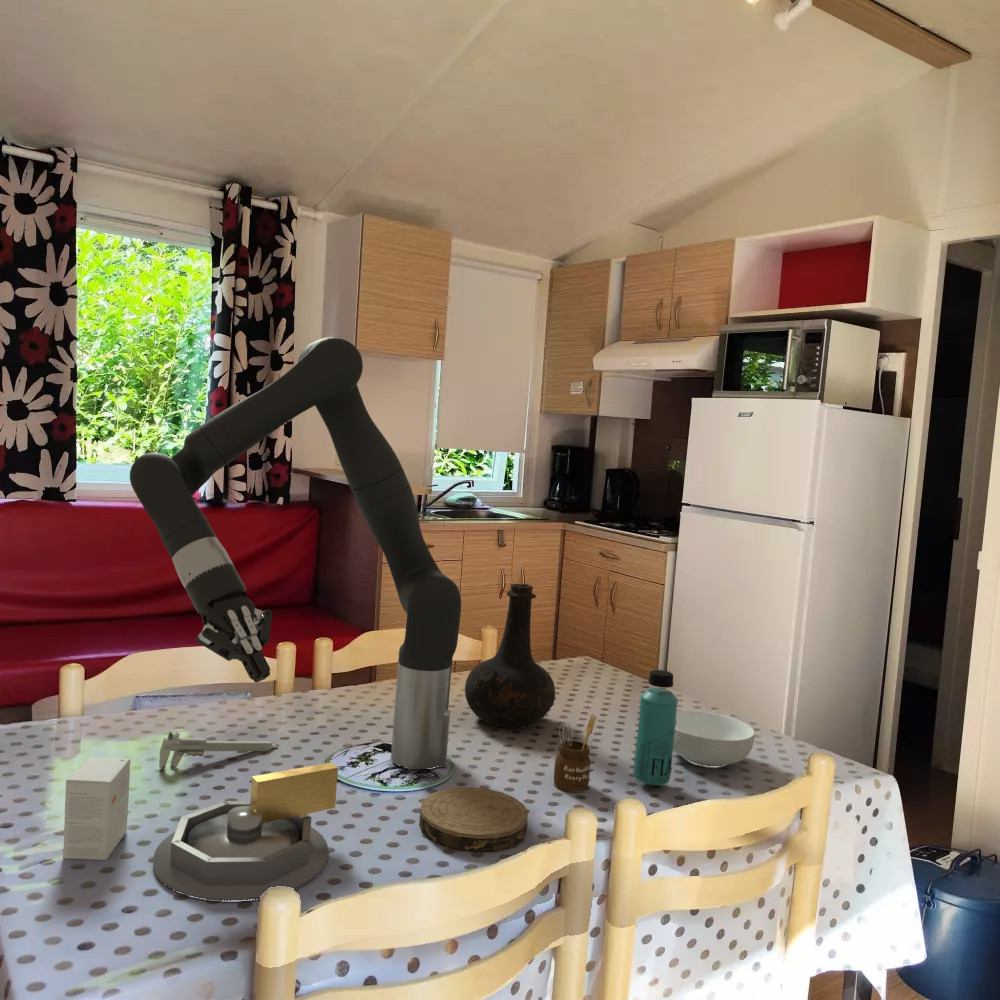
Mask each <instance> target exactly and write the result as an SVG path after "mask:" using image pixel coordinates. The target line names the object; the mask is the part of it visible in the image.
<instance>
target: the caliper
mask: <svg viewBox="0 0 1000 1000" xmlns="http://www.w3.org/2000/svg"><path fill="white" fill-rule="evenodd" d="M180 735H181V734H180V733H179V732H178V731H175V733H173V732H172V731H169V732H168V736H167V738H163V740H162V743H161V746H160V749H159V764H158V765H159V768H160V770H161V771H165V770H166V766H167V763H168V761H169V758H170V753H171V751H172V752H173V754H172V757H171V761H170V766H169V767H170V768H171V770H173V769H175V770H176V769H177V767H178V765H179V763H180V762H181V760H182V758H183V756H184V754H187V755H190V756H192V757H194V756H195V757H197V756H199V757H203V756H204V753H205V752H266V751H270V750H272V749H278V748H279V746H278V745H276V744H275V743H274V744H273V742H271V741H269V740H267V741H264V740H257V741H256V740H207V739H206V738H204V737H202V738H201V737H200V738H199V737H196V738H195V737H180Z"/></svg>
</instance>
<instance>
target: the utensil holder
mask: <svg viewBox="0 0 1000 1000" xmlns="http://www.w3.org/2000/svg"><path fill="white" fill-rule="evenodd" d="M596 719H597V716H596V715H594V714H593V713H591V715H590V717H589V720H588V723H587V727H586V729H585V732H586V735H585V738H584V741H580V740H574V738H573V737H571V739H566V740H565V736H564V735H565V732H564V729H565V726H564V725H566V726H567V732H570V731H569V727H568V726H570V728H571V729H573V727H572V724H571V723H570V722H567V721H563V722H560V725H559V726H558V734H559V737H561V732H560V729H561V726H562V736H563V739H564V740H562V739H561V738H559V740H560V743H559V745H558V747H557V748H558V750H557V751H558V752H557V754H556V756H555V761H554V767H553V768H554V770H553V784H554V787H555V786H556V788H557V789H558V790H559V789H560V790H562V791H564V792H568V793H569V792H570V793H580V792H584V791H585V790H586V789H587V788H588V787H589V782H590V776H591V775H590V773H591V759H590V756H589V755H590V752H591V750H590V746H589V745H588V743H587V742H588V739H589V736H590V735H592V734H593V731H594V726H595V723H596ZM573 734H574V733H573V731H571V736H574V735H573Z"/></svg>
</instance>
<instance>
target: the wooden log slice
mask: <svg viewBox="0 0 1000 1000" xmlns="http://www.w3.org/2000/svg"><path fill="white" fill-rule="evenodd" d="M419 811H420V812H419V822H418V826H419V829H420V832H421V834H423V836H425V838H426V839H428V841H430V842H432V843H434V844H436V845H438V846H440V847H442V848H444V849H445V848H446V849H448V850H453V851H456V852H460V853H469V854H495V853H500V852H504V851H507V850H508V851H509V850H510V849H511V850H512V849H513V848H515V847H516V846H519V845H520V844H522V842H523V841H524V840H525V839H526V838H527V827H528V819H529V818H528V817H529V811H528V809H527V808H526V806H525V805H524V803H522V802H521V801H520V800H518V799H517V798H515V797H513V796H512V795H508V794H507V793H504V792H502V791H499V790H493V789H490V788H484V787H483V788H482V787H475V786H465V787H459V786H457V787H451V788H450V787H449V788H444V789H440V790H438V791H435V792H432V793H430V794H429V795H428V796H426V798H424V799H422V801H421V805H420V809H419Z"/></svg>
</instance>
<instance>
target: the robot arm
mask: <svg viewBox="0 0 1000 1000" xmlns="http://www.w3.org/2000/svg"><path fill="white" fill-rule="evenodd" d="M363 363H364V362H363V357H362V354H361V352H360V351H359V349H358V348H357V346H356V345H354V344H353V343H352V342H350V341H349V340H347V339H344V338H342V337H335V336H328V337H323V338H320V339H318V340H315V341H313V342H310V343H309V344H307V345H306V346H305V347H304V348H303V349H302V350H301V353H300V355H299V357H298V360H297V362H296V364H295V365H293V366H292V367H291V368H289V370H288V371H286V373H284V374H283V375H281V376H280V377H278V378H276V380H274V381H273V382H271V383H270V384H269V385H267V386H265V387H263V388H262V389H260V390H259V391H256V392H255V393H253V394H251V395H249V396H247V397H245V398H244V399H242V400H240V401H238V402H236V403H235V404H233V405H231V406H229V407H227V408H226V409H224V410H223V411H220V412H219V413H218V414H216V415H215V416H213V417H211V418H210V419H209V420H207V421H206V422H204V423H203V424H201V425H200V426H198V427H196V428H195V429H193V430H192V431H191V432H190V433H189V434H187V435H186V436H185V439H184V442H183V447H182V448H181V449H180V450H179V451H178V452H177V453H175V454H174V455H173V456H172V457H170V456H169V455H167V454H163V453H161V452H148V453H144V454H142V455H140V456H138V458H136V459H135V461H134V462H133V463H132V465H131V467H130V472H129V481H130V485H131V488H132V490H133V492H134V493H135V495H136V497H137V499H138V500H139V502H140V503H141V505H142V507H143V509H145V512H146V513H147V515H148V516H149V518H150V519H151V521H152V522H153V524H154V525H155V527H156V529H157V531H158V534H159V536H160V538H161V541H162V543H163V545H164V547H165V549H166V550H167V552H168V554H169V556H170V558H171V561H172V563H173V565H174V568H175V571H176V573H177V577H179V580H180V582H181V584H182V586H183V587H184V589H185V591H186V593H187V595H188V597H189V599H190V601H191V602H192V605H193V607H194V609H195V610H196V612H197V614H199V615H200V616H201V617H202V619H201V620H202V624H203V628H202V630H201V631H200V633H199V634H198V635H197V636H196V637H195V640H196V642H197V643H198V644H200V645H201V646H203V647H205V648H207V649H208V650H210V651H212V652H213V653H215V654H216V655H218V656H219V657H221V658H223V659H225V660H226V661H228V662H230V661H232V660H237V661H239V662H241V663H242V665H243V667H244V669H245V671H246V673H247V675H248V677H249V678H250V679H251V680H252V681H253V682H254V683H259V682H262V681H263V680H266V679H267V678H268V677H269V676H270V675H271V667H270V665H269V663H268V661H267V659H266V658H265V657H266V656H265V655H264V653H263V648H264V647H265V646H266V645H267V644H269V642H270V636H271V628H272V618H273V612H272V610H271V609H268V608H267V609H265V610H264V611H263V610H261V609H258V608H256V607H255V604H254V602H252V601H251V600H250V599H249V598H248V596H247V588H246V586H245V583H244V581H243V579H242V577H241V576H240V574H239V573H238V571H237V569H236V566H235V565H234V563H233V561H232V560H231V559H232V558H230V556H229V554H228V552H227V550H226V548H225V547H224V546H223V544H222V543H221V542H220V540H219V539H218V536H217V535H216V534H215V532H214V529H213V527H212V526H211V524H210V522H209V521H208V518H207V517H206V515H205V514H204V513H203V511H202V510H201V509H200V508H199V506H198V504H196V501H195V500H194V498H193V495H194V494H195V493H196V492H197V491H198V490H200V488H202V486H203V485H204V484H206V482H208V481H209V480H210V479H211V477H212V476H214V474H215V473H216V472H217V471H219V470H220V469H222V468H224V467H225V466H227V465H229V464H230V463H231V462H234V461H235V460H236V459H237V458H239V457H240V456H242V455H243V454H244V453H246V452H247V451H249V450H250V449H252V448H253V447H254V446H256V445H257V444H259V443H261V441H263V440H264V439H266V438H267V437H268V436H270V435H271V434H272V433H273V432H276V431H277V430H278V429H279V428H281V427H282V426H284V425H285V424H287V423H288V422H290V421H291V420H292V419H294V418H295V417H297V416H299V415H300V414H303V413H304V412H307V410H309V409H312V408H313V407H315V408H316V410H317V412H318V413H319V415H320V417H321V419H322V420H323V422H324V424H325V426H326V429H327V431H328V433H329V435H330V438H331V441H332V444H333V446H334V449H335V450H334V451H336V455H337V457H338V460H339V463H340V465H341V468H342V470H343V472H344V475H345V478H346V481H347V483H348V486H349V488H350V490H351V492H352V495H353V498H354V499H355V502H356V503H357V506H358V508H359V510H360V512H361V513H362V515H363V517H364V519H365V522H366V524H367V526H368V528H369V530H370V531H371V533H372V535H373V538H374V539H375V540H376V542H377V543H378V545H379V547H380V549H381V550H382V552H383V554H384V555H383V556H384V557H385V559H386V562H387V564H388V567H389V570H390V573H391V578H392V580H393V583H394V585H395V589H396V592H397V596H398V598H399V602H400V605H401V606H402V608H403V610H404V612H405V613H406V625H405V635H404V640H403V642H402V644H401V645H400V647H399V648H398V649H399V650H398V659H397V661H398V662H397V673H396V687H395V700H394V714H393V726H392V741H391V749H390V750H391V753H390V754H391V755H390V760H391V759H392V760H391V762H392V761H393V762H394V763H396V764H398V765H400V766H403V767H407V768H411V769H410V770H413V769H427V768H433V767H437V766H447V758H448V757H447V756H448V754H447V753H448V745H449V744H448V742H449V730H450V719H451V718H450V717H451V712H450V709H449V706H450V705H449V704H450V691H451V682H452V681H451V680H452V670H453V669H452V666H453V657H454V654H455V653H456V650H457V647H458V641H459V640H458V639H459V633H460V632H459V631H460V624H461V623H460V622H461V615H462V595H461V591H460V589H459V588H458V585H457V584H456V583H455V581H453V580H452V579H451V578H450V577H448V576H447V575H445V574H444V573H443V572H442V570H441V569H440V568H439V566H438V565H437V562H436V561H435V559H434V558H433V555H432V554H431V552H430V550H429V548H428V546H427V544H426V542H425V540H424V536H423V533H422V531H421V530H422V529H421V525H420V524H421V523H420V519H419V514H418V509H417V503H416V499H415V496H414V492H413V490H412V487H411V484H410V482H409V480H408V477H407V475H406V473H405V470H404V468H403V465H402V464H401V461H400V460H399V457H398V456H397V454H396V452H395V451H394V449H393V447H392V446H391V444H390V443H389V441H388V440H387V439H386V437H385V435H384V434H383V433H382V431H381V430H380V429H379V428H378V426H377V425H376V423H375V421H373V419H372V417H371V415H370V414H369V411H368V410H367V408H366V405H365V402H364V400H363V398H362V395H361V393H360V389H359V387H358V383H359V381H360V379H361V377H362V374H363V369H364V364H363ZM393 762H392V763H393ZM394 763H393V764H394ZM396 764H395V765H396ZM400 766H399V767H400ZM403 767H402V768H403ZM437 768H438V767H437Z"/></svg>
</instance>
